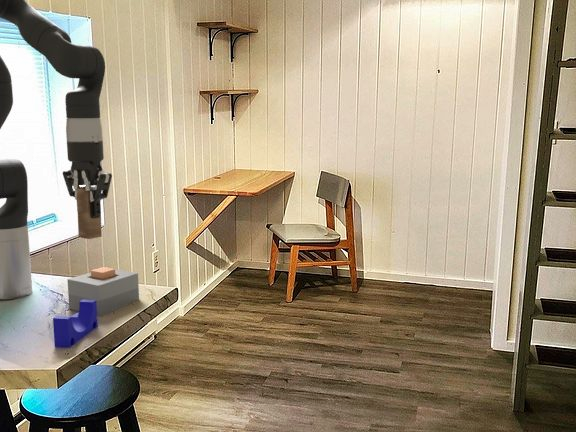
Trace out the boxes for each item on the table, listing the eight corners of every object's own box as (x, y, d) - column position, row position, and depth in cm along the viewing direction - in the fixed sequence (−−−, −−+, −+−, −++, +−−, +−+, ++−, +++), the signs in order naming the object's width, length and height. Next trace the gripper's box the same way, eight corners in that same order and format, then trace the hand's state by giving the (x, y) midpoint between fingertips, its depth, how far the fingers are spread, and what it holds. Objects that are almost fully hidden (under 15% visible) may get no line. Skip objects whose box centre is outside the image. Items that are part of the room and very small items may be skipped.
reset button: (91, 284, 147) (90, 270, 146) (104, 280, 150) (103, 266, 149) (103, 286, 145) (102, 272, 144) (115, 282, 148) (115, 269, 147)
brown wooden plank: (78, 237, 142) (76, 188, 141) (91, 235, 145) (89, 186, 144) (89, 239, 141) (87, 189, 139) (101, 236, 144) (99, 187, 142)
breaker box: (69, 308, 146) (67, 279, 144) (109, 295, 156) (107, 267, 155) (100, 316, 141) (98, 285, 139) (139, 302, 151) (137, 273, 149)
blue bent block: (77, 326, 135) (76, 299, 134) (97, 327, 134) (96, 300, 133) (47, 347, 123) (45, 317, 122) (69, 349, 123) (67, 319, 122)
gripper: (49, 139, 140) (54, 216, 143) (93, 140, 132) (97, 222, 135) (77, 137, 146) (81, 212, 149) (120, 139, 139) (124, 217, 142)
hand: (89, 216), depth 142 cm, fingers closed on brown wooden plank, 3 cm apart
